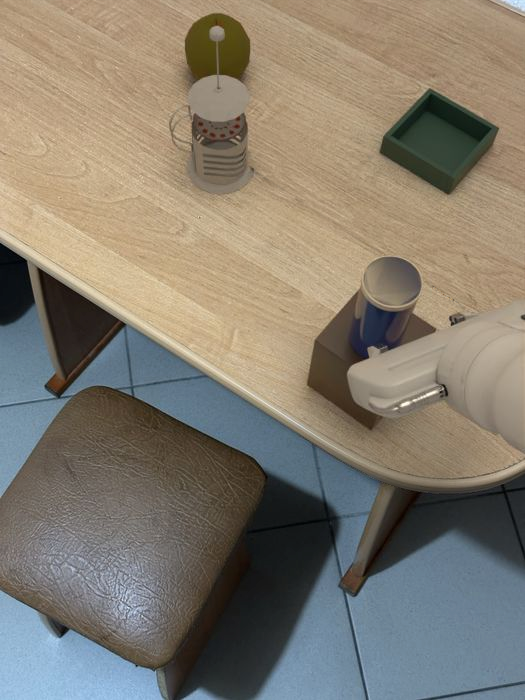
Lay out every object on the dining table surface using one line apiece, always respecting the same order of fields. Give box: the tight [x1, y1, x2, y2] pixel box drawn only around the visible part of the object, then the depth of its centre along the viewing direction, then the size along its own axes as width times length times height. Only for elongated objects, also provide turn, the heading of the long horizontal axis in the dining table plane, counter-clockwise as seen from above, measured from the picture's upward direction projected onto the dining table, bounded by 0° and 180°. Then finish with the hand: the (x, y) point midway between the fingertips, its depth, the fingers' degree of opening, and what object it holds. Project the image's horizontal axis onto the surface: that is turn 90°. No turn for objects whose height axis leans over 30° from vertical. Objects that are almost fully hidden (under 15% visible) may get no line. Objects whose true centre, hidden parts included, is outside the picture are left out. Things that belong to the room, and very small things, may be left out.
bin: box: [379, 87, 500, 196], centre depth 121 cm, size 12×12×4 cm
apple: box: [184, 12, 251, 81], centre depth 124 cm, size 10×10×11 cm
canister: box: [349, 254, 424, 359], centre depth 89 cm, size 6×6×12 cm
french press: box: [168, 26, 255, 195], centre depth 109 cm, size 10×12×25 cm
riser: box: [306, 288, 438, 432], centre depth 100 cm, size 10×10×12 cm
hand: (415, 336), depth 85 cm, fingers open, 8 cm apart
